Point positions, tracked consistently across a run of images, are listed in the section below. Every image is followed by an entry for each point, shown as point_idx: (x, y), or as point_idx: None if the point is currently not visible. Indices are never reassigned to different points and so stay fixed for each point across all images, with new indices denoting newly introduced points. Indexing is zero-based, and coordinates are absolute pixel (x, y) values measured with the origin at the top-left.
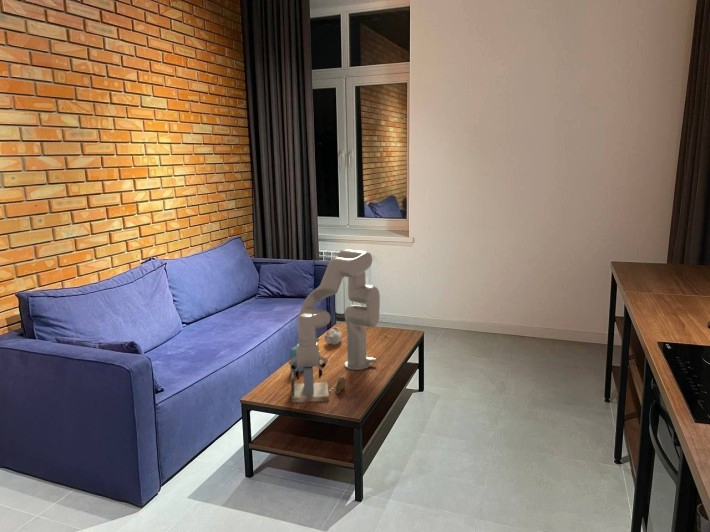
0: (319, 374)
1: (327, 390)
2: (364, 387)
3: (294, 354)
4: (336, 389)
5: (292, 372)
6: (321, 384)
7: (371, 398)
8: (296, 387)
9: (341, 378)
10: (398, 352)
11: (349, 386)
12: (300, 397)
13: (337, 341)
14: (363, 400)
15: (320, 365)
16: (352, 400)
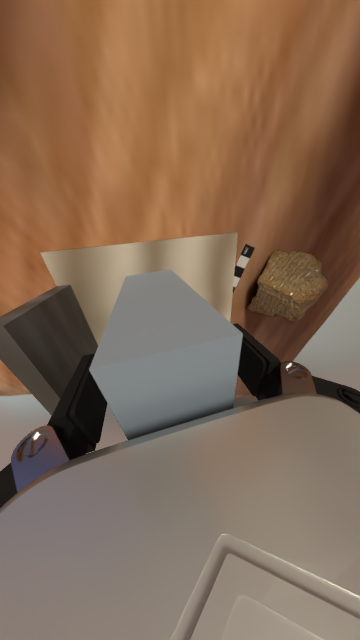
0: (240, 375)
1: (228, 320)
2: (340, 252)
3: None
4: (258, 306)
5: (1, 346)
6: (209, 262)
7: (319, 324)
8: (90, 300)
9: (315, 301)
10: None
11: (303, 241)
12: None
13: None
14: (299, 336)
15: (300, 389)
16: (276, 339)
